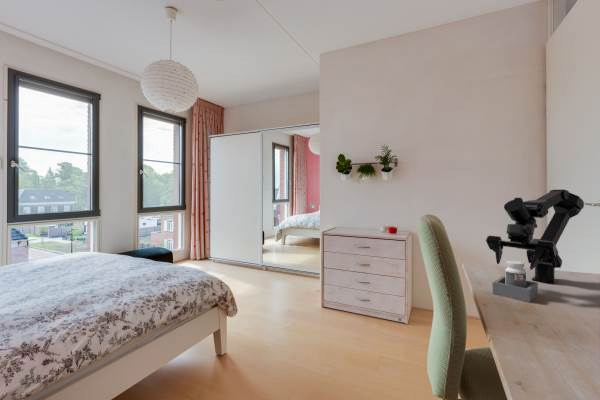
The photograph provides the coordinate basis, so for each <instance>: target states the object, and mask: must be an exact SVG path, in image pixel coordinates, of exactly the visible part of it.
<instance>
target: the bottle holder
mask: <svg viewBox="0 0 600 400" xmlns="http://www.w3.org/2000/svg"><path fill="white" fill-rule="evenodd" d="M492 294H493V295H496V296H501V297H504V298H509V297H510V298H509V299H513V298H514V300H517V299H518V301H522V302H527V303H531V301H533V300H534V299H535V298H536V297H537V296H538V295H539V282H537V281H530V280H526V288H522V287H517V286H512V285H508V284H505V275H502V276H500V277H498V278H497V279H495V280H493V282H492Z"/></svg>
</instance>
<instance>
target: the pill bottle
mask: <svg viewBox="0 0 600 400" xmlns="http://www.w3.org/2000/svg"><path fill="white" fill-rule="evenodd" d="M506 266H507V267H506V268H505V269H504V276H505V284H508V285H512V286H517V287H522V288H526V281H527V271H526V270H525V269H524V267H525V262H523V261H519V260H506Z"/></svg>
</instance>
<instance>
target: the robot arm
mask: <svg viewBox="0 0 600 400" xmlns="http://www.w3.org/2000/svg"><path fill="white" fill-rule="evenodd" d="M552 207H553V210H554V214H553V215H552V217H551V219H550V221H549V223H548V224H547V226H546V227H545V230H544V232H543V234H542V235H541V237H540V238H534V237H533V236H534V233H535V229H538V224H537V218H539V219H542V218H545V217H546V216H547V215H548V214H549V209H550V208H552ZM584 207H585V202H584V200H583V199H582V198H581V197H580V196H579V195H577V194H575V193H572V192H569V190H567V189H562V188H561V189H552V190H549V192H547V193H545V194H543V195H542V196H541V197H538V198H537V199H531V200H526V201H524V199H523V198H522V197H514V199H510V201H509V200H508V201H507V202H506V203H504V206H503V209H504V211H505V212H506V214H507V216H508V217H509V218H510V219H511V220H512V221H514V222H515V223H508V224H507V227H506V228H507V229H506V234H507V235H508V236H507V239H508V240H503V239H502V237H501V236H497V235H488V236H487V237H486V239H485V241H486V244H487V246H488V249H489V250H491V251H492V252H494V253H495V259H496V264H497V265H499V264H500V262H501V260H502V256H503V249H504V248H505V247H506V248H507V247H508V248H515V249H519V250H526V257H527V260H528V261H527V262H528V263H529V264H530V265H529V270H530V271H531V270H533V269H534V276H533V277H532V278H531V280H532V281H534V282H540V283H541V282H542V283H546V284H551V285H555V284H556V282H558V278H556V277H555V269H556V268H558V269H561V268H562V265H563V260H562V257H561V256H560V255H559V251H558V248H557V244H558V243H559V240H560V238H561V237H562V235H563V232H564V230H565V228H566V227H567V226H568V223H569V221H570V220H571V218H574V217H576V216H577V215H579V214H580V212H581V211H582V209H584Z"/></svg>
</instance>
